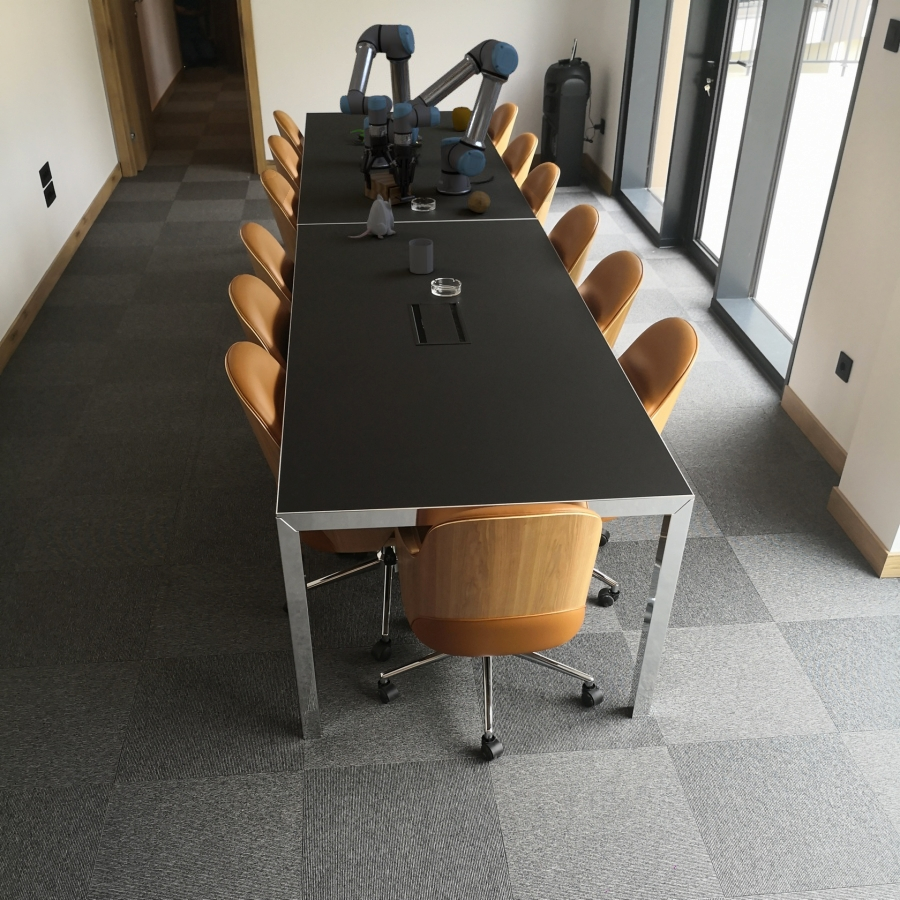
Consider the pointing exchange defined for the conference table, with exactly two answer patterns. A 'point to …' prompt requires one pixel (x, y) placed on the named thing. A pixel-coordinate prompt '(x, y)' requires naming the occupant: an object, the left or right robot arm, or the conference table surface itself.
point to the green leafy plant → (361, 137)
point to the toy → (379, 219)
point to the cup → (421, 256)
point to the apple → (461, 118)
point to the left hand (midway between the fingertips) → (380, 186)
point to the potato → (478, 201)
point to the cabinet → (380, 185)
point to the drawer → (398, 195)
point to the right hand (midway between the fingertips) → (404, 200)
